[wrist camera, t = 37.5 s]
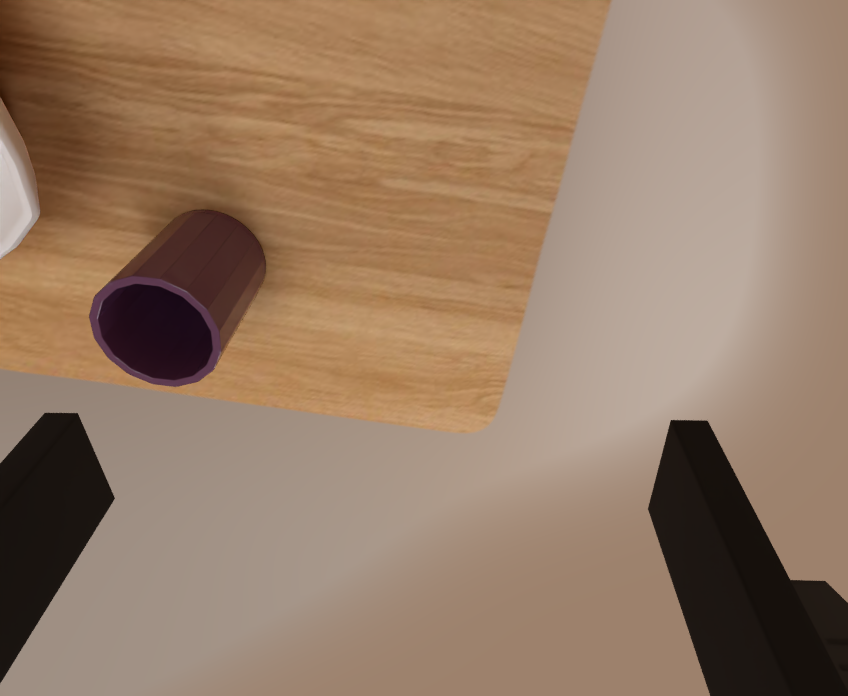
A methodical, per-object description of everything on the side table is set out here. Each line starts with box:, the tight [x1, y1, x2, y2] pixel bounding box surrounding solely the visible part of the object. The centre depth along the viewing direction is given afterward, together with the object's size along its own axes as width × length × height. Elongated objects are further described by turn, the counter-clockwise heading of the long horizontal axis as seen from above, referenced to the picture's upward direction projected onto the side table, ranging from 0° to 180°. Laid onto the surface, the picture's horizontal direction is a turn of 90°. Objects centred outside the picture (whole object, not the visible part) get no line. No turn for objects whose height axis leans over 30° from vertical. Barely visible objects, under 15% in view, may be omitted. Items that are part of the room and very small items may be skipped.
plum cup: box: [89, 210, 266, 387], centre depth 39 cm, size 7×7×10 cm
